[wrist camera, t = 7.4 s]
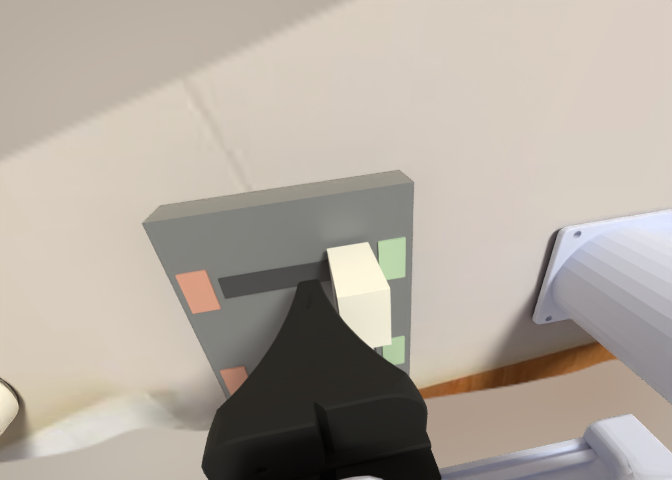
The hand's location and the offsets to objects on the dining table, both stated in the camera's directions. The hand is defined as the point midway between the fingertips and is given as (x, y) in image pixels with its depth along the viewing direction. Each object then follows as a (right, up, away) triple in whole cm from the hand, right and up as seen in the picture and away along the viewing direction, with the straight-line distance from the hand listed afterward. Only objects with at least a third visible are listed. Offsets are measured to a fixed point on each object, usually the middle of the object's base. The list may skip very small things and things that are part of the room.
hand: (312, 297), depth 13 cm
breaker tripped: (+2, +1, +1) cm, 3 cm away
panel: (-1, -1, +5) cm, 5 cm away
